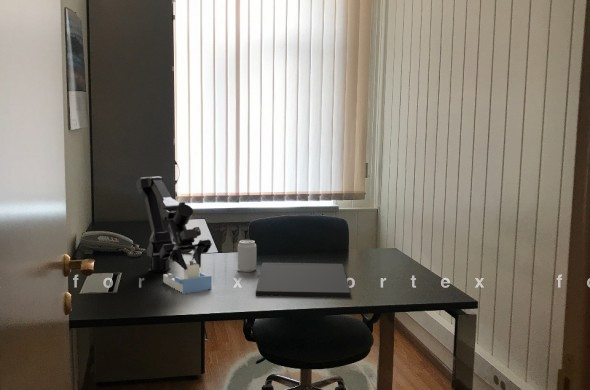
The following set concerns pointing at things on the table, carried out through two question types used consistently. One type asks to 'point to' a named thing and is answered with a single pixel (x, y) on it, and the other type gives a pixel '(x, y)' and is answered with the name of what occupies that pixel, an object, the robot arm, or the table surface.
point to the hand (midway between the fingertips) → (193, 268)
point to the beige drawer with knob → (191, 270)
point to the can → (247, 255)
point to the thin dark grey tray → (302, 280)
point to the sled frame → (189, 283)
